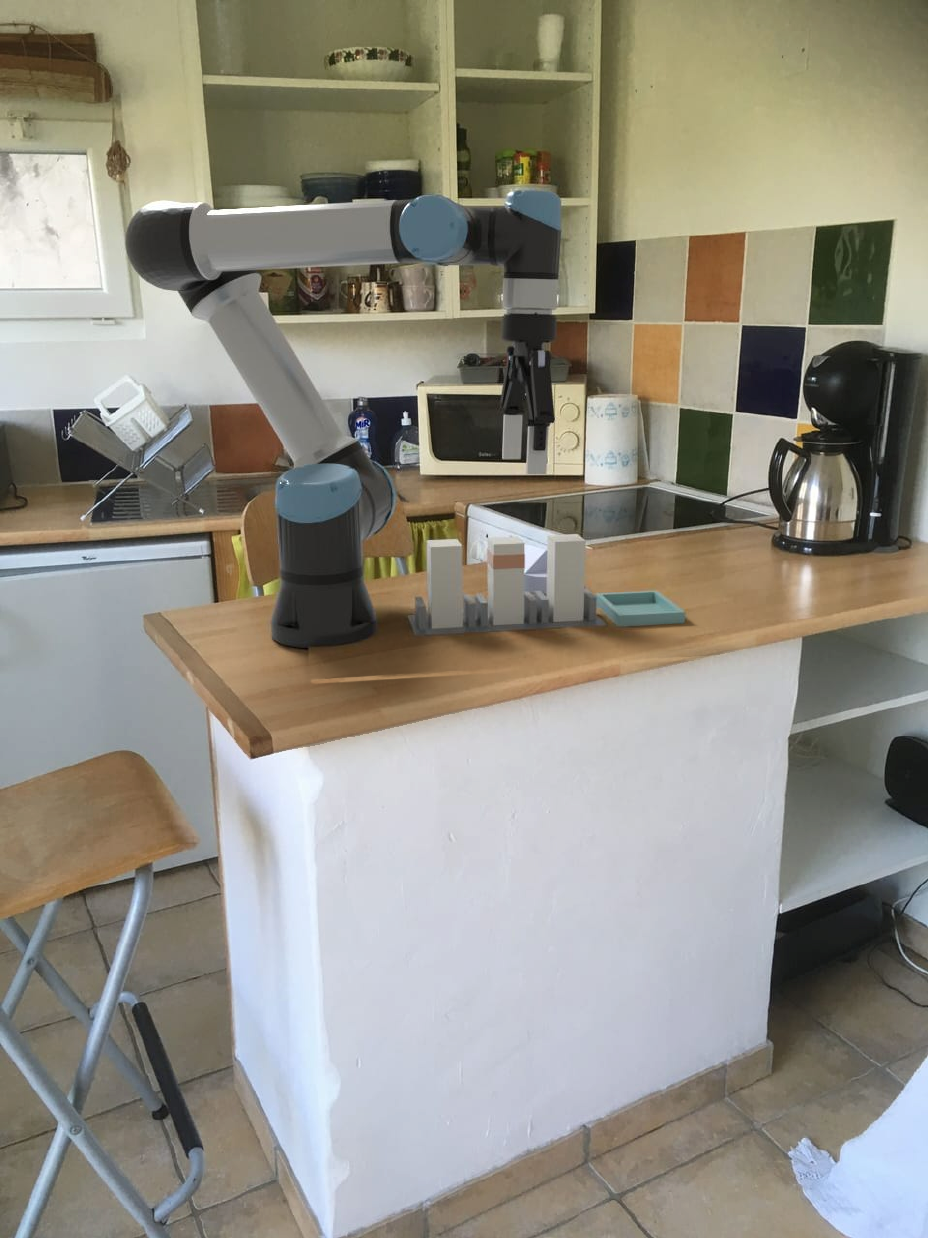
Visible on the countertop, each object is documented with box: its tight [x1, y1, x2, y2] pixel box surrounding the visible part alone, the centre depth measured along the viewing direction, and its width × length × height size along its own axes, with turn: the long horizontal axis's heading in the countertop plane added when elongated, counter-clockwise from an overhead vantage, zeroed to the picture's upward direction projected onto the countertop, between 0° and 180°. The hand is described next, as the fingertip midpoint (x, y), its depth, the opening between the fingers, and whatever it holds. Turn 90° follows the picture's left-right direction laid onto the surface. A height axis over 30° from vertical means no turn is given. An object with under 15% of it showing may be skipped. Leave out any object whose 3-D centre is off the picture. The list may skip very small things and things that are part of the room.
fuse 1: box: [426, 538, 464, 629], centre depth 147 cm, size 4×4×12 cm
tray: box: [594, 590, 686, 628], centre depth 153 cm, size 10×12×2 cm
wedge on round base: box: [524, 543, 547, 595], centre depth 169 cm, size 9×7×13 cm
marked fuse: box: [486, 536, 526, 625], centre depth 149 cm, size 5×5×12 cm
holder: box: [407, 587, 607, 637], centre depth 150 cm, size 28×10×4 cm, turn 99°
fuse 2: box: [545, 533, 587, 622], centre depth 150 cm, size 4×4×12 cm
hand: (523, 466), depth 147 cm, fingers open, 13 cm apart
